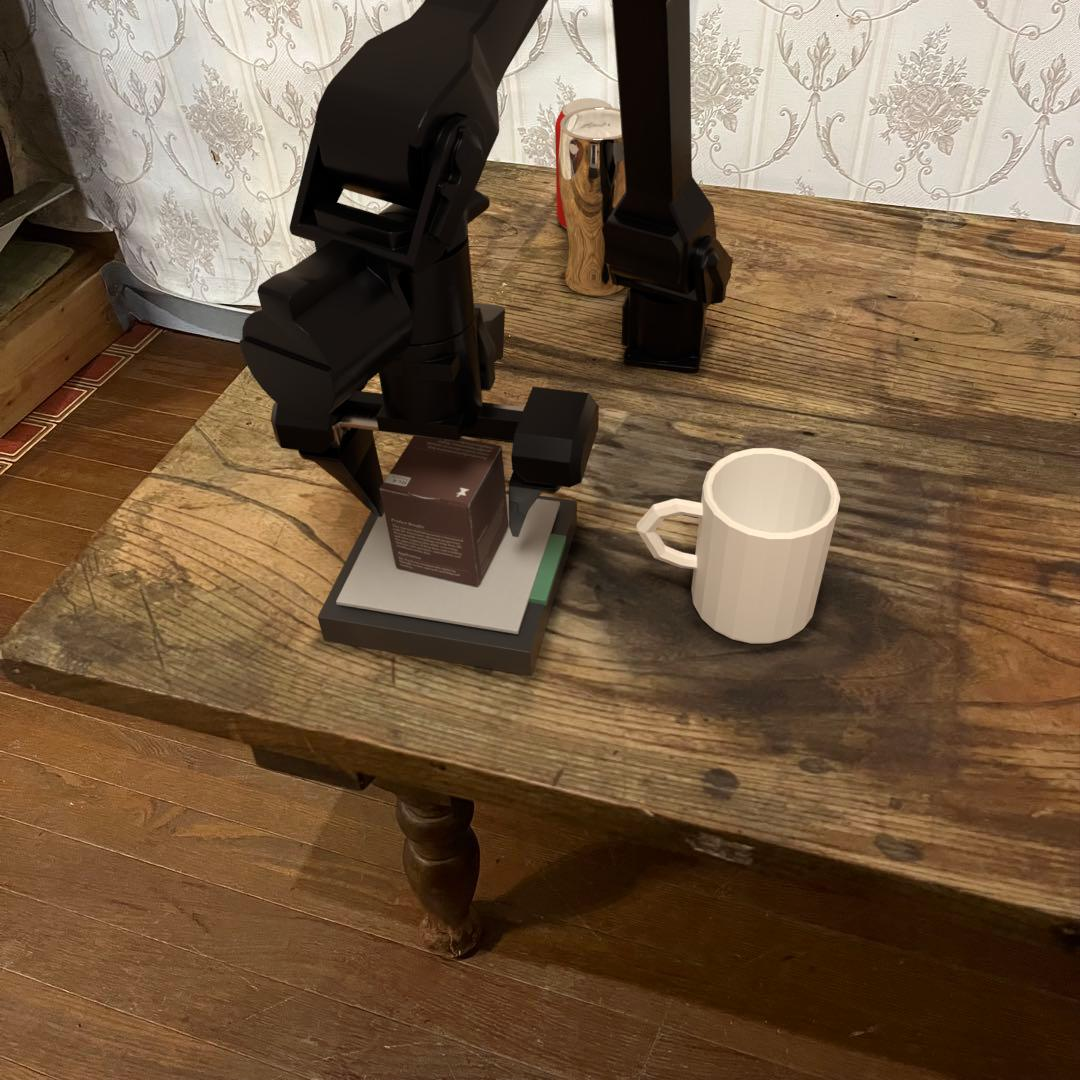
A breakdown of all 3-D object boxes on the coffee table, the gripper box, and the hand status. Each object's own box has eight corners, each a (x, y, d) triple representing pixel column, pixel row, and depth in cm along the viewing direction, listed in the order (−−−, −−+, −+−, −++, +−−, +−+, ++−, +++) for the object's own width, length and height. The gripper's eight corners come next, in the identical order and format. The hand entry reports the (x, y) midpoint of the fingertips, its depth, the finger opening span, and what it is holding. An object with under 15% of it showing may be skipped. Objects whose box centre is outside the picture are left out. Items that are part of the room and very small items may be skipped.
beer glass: (628, 302, 95) (634, 142, 84) (554, 295, 96) (550, 137, 86) (638, 263, 100) (645, 107, 89) (567, 257, 101) (566, 103, 90)
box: (511, 527, 70) (505, 444, 65) (478, 590, 66) (469, 507, 61) (429, 509, 72) (417, 426, 67) (392, 569, 68) (376, 486, 63)
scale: (578, 524, 75) (578, 494, 72) (533, 676, 65) (531, 646, 63) (393, 498, 77) (388, 467, 75) (323, 640, 68) (315, 610, 66)
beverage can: (618, 211, 107) (621, 94, 99) (616, 241, 103) (618, 121, 94) (559, 210, 108) (557, 93, 99) (554, 240, 103) (552, 121, 95)
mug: (629, 556, 72) (634, 448, 65) (802, 554, 72) (826, 445, 65) (636, 646, 66) (642, 538, 60) (824, 644, 66) (852, 535, 59)
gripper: (618, 256, 60) (612, 461, 71) (317, 228, 63) (357, 427, 74) (579, 368, 52) (579, 577, 63) (240, 328, 56) (296, 534, 67)
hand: (448, 522), depth 67 cm, fingers open, 9 cm apart
